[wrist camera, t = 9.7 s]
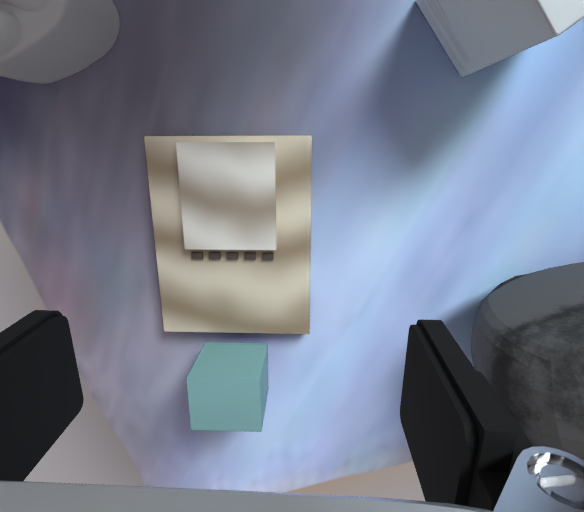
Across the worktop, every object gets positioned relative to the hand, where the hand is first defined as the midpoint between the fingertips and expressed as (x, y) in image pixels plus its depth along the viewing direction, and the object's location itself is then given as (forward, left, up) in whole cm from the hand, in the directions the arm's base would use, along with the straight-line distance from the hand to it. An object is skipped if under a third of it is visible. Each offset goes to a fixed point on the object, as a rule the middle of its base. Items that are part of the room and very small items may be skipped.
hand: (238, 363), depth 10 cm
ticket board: (+3, -5, -26) cm, 27 cm away
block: (+15, -5, -24) cm, 29 cm away
